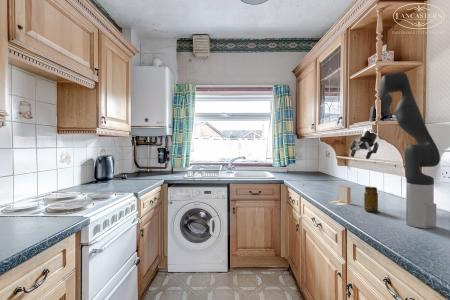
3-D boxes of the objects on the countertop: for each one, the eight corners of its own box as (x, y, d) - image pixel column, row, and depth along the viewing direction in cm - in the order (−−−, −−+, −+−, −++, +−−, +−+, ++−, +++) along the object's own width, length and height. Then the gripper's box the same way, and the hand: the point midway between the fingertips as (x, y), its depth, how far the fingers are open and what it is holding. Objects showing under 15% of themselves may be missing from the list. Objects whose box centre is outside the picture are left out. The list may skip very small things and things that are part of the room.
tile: (350, 203, 153) (350, 187, 152) (347, 203, 152) (347, 187, 152) (341, 200, 159) (341, 185, 159) (338, 201, 158) (338, 185, 158)
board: (352, 204, 152) (352, 203, 152) (339, 205, 149) (339, 205, 149) (340, 201, 160) (340, 200, 160) (328, 202, 157) (328, 201, 157)
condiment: (367, 208, 142) (367, 185, 142) (384, 211, 135) (385, 187, 135) (360, 211, 137) (360, 187, 137) (378, 214, 131) (378, 189, 130)
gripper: (355, 129, 163) (344, 152, 158) (380, 131, 151) (369, 155, 147) (360, 137, 167) (349, 159, 162) (384, 139, 155) (374, 162, 151)
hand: (359, 157), depth 155 cm, fingers open, 8 cm apart
